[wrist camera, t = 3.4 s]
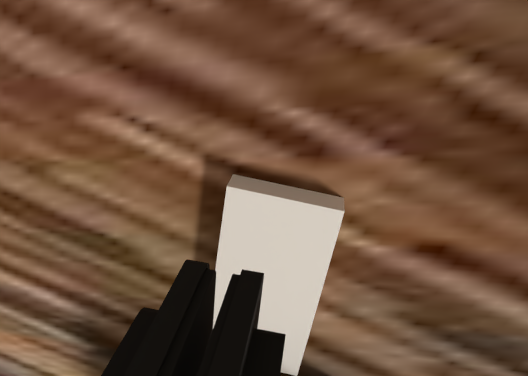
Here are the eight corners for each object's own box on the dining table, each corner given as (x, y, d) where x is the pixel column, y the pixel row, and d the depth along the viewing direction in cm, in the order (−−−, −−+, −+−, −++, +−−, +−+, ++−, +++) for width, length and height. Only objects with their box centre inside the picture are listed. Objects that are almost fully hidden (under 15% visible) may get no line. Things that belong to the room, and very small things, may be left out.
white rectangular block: (234, 171, 31) (226, 186, 28) (343, 194, 30) (344, 211, 28) (211, 331, 38) (203, 353, 36) (299, 352, 37) (297, 376, 35)
